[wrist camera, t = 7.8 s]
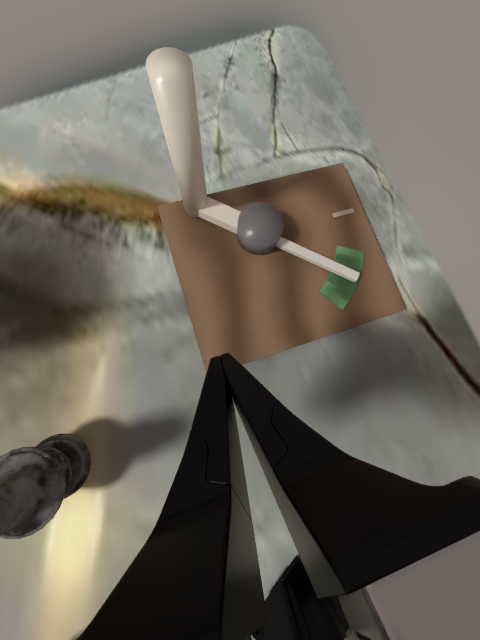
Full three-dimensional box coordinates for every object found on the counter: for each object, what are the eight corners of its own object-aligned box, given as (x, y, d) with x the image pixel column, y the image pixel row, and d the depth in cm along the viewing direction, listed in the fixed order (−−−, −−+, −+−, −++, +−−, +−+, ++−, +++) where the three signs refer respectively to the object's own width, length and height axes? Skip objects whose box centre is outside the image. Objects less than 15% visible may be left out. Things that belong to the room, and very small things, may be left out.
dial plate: (208, 375, 21) (207, 376, 20) (160, 212, 23) (156, 205, 22) (398, 311, 23) (407, 308, 22) (338, 170, 26) (343, 161, 24)
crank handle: (175, 219, 22) (127, 85, 11) (195, 185, 22) (168, 28, 12) (347, 297, 22) (470, 242, 11) (361, 260, 23) (488, 174, 12)
